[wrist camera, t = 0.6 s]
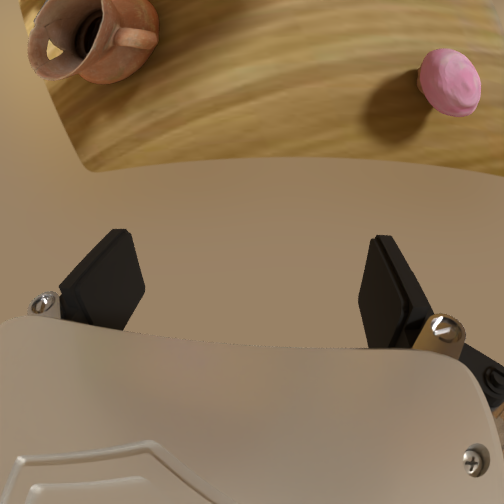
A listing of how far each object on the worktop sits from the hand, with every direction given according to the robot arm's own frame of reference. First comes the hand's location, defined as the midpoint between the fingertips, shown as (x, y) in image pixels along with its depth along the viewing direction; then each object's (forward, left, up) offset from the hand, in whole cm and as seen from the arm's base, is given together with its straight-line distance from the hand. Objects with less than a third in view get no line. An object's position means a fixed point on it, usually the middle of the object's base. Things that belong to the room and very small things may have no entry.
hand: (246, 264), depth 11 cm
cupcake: (-23, +8, -31) cm, 39 cm away
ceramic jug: (+3, -27, -31) cm, 41 cm away
